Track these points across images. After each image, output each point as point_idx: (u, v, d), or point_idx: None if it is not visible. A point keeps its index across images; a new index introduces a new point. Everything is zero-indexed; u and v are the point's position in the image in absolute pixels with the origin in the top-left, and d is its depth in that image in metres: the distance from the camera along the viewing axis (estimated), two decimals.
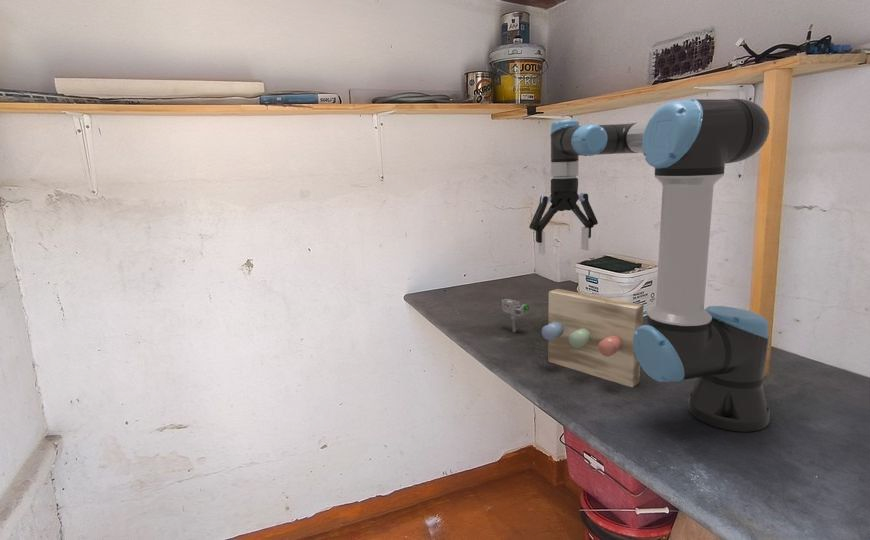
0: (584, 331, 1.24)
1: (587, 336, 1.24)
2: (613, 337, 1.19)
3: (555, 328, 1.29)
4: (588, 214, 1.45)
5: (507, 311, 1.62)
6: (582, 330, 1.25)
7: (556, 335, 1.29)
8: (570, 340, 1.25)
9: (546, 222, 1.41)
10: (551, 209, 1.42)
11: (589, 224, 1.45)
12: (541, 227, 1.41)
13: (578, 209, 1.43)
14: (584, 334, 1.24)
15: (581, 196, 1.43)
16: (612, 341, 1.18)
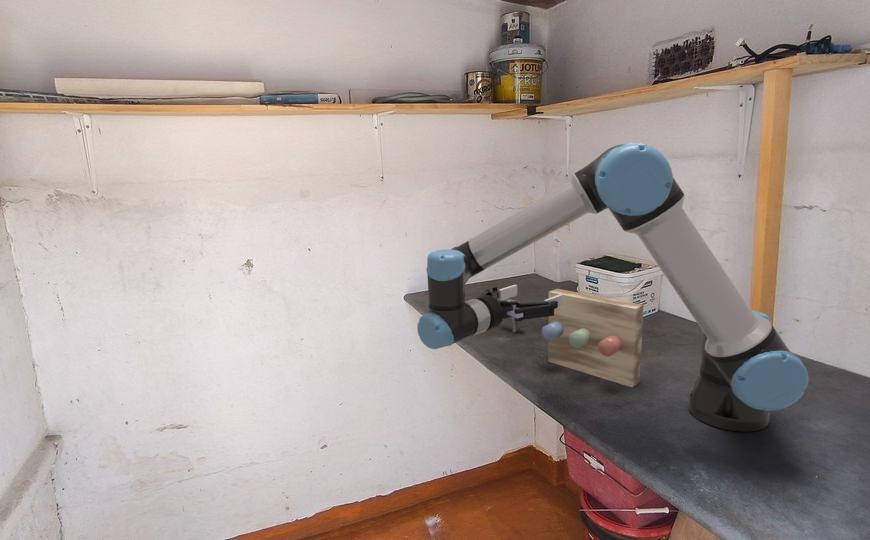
0: (584, 331, 1.24)
1: (587, 336, 1.24)
2: (613, 337, 1.19)
3: (555, 328, 1.29)
4: None
5: None
6: (582, 330, 1.25)
7: (556, 335, 1.29)
8: (570, 340, 1.25)
9: (534, 303, 1.14)
10: None
11: (494, 290, 1.24)
12: (544, 303, 1.13)
13: None
14: (584, 334, 1.24)
15: None
16: (612, 341, 1.18)
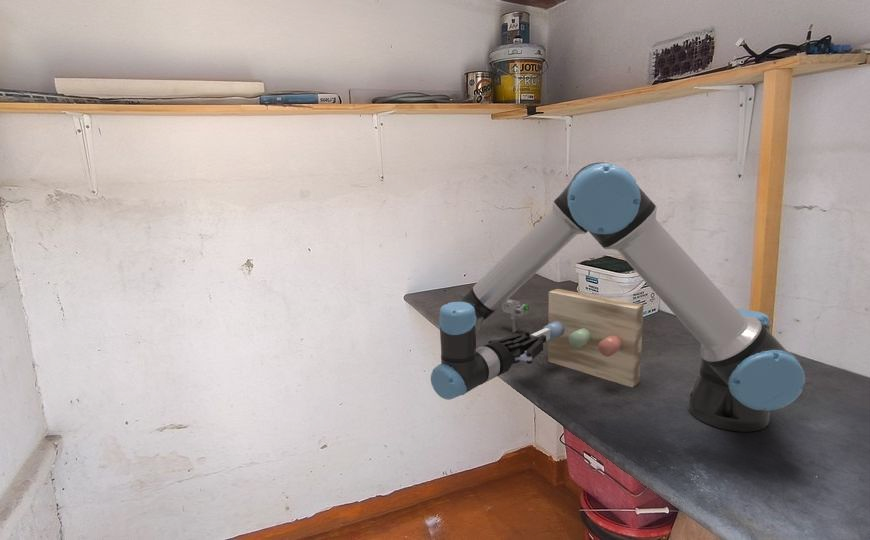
0: (584, 331, 1.24)
1: (587, 336, 1.24)
2: (613, 337, 1.19)
3: (556, 328, 1.29)
4: (511, 341, 1.25)
5: (507, 311, 1.62)
6: (582, 330, 1.25)
7: (557, 335, 1.29)
8: (570, 340, 1.25)
9: (529, 340, 1.22)
10: (522, 349, 1.19)
11: (526, 335, 1.25)
12: (535, 338, 1.23)
13: None
14: (584, 334, 1.24)
15: None
16: (612, 341, 1.18)
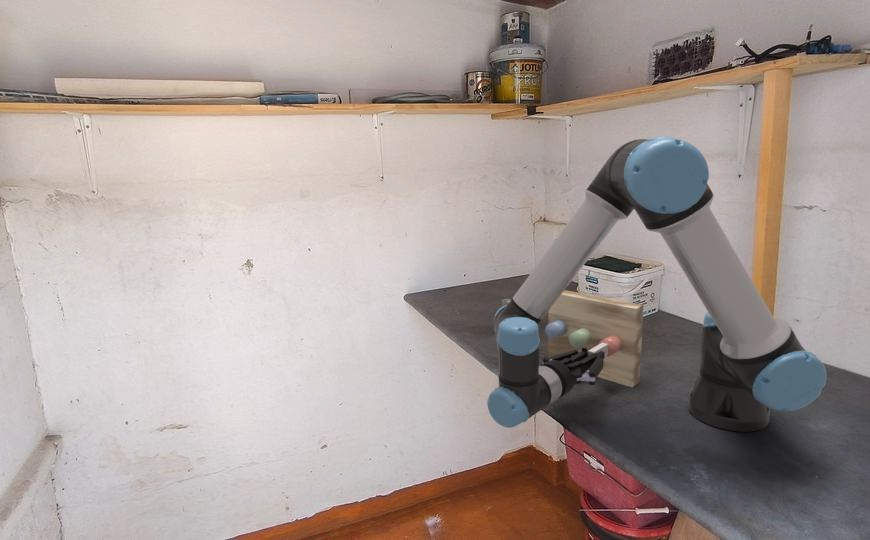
0: (584, 331, 1.24)
1: (587, 336, 1.24)
2: (613, 337, 1.19)
3: (559, 326, 1.30)
4: (567, 358, 1.13)
5: None
6: (582, 330, 1.25)
7: (560, 333, 1.30)
8: (570, 340, 1.25)
9: (588, 358, 1.11)
10: (581, 368, 1.08)
11: (583, 352, 1.14)
12: (594, 355, 1.12)
13: (568, 359, 1.10)
14: (584, 334, 1.24)
15: None
16: (612, 341, 1.18)
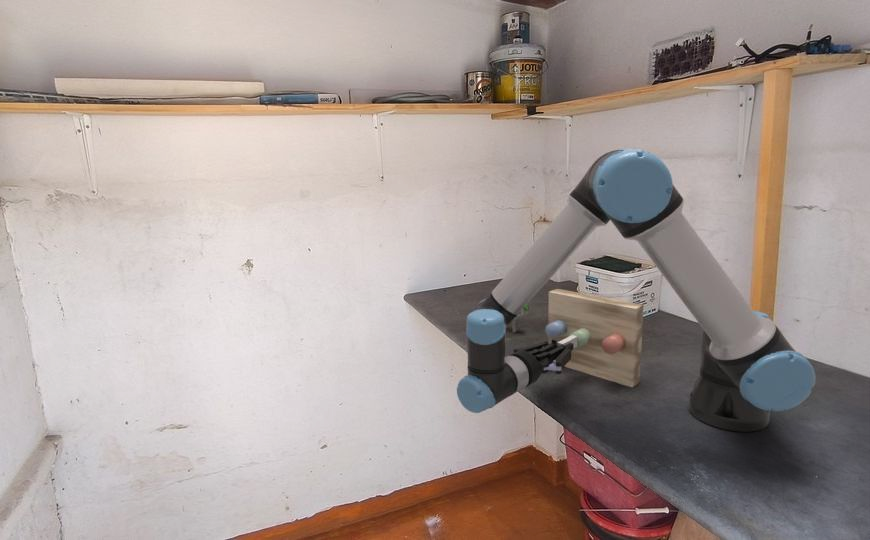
0: (584, 331, 1.25)
1: (587, 335, 1.24)
2: (616, 335, 1.21)
3: (559, 326, 1.30)
4: (537, 349, 1.19)
5: None
6: (582, 330, 1.25)
7: (560, 333, 1.30)
8: None
9: (556, 349, 1.16)
10: (549, 358, 1.13)
11: (552, 343, 1.20)
12: (562, 346, 1.17)
13: (538, 350, 1.16)
14: (584, 334, 1.24)
15: None
16: (616, 339, 1.19)
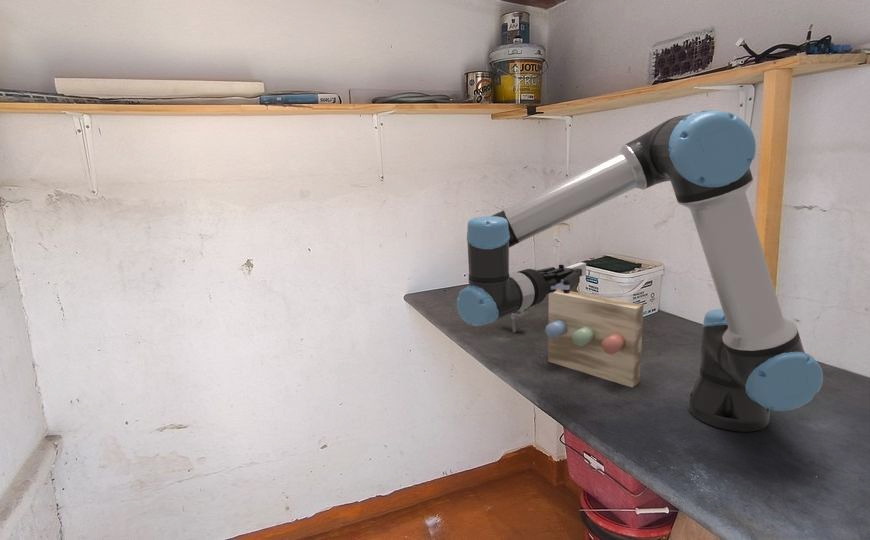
0: (587, 329, 1.26)
1: (590, 334, 1.25)
2: (616, 335, 1.21)
3: (559, 326, 1.30)
4: None
5: None
6: (585, 328, 1.26)
7: (560, 333, 1.30)
8: (574, 338, 1.26)
9: (564, 272, 1.09)
10: (556, 280, 1.06)
11: (560, 268, 1.12)
12: (570, 270, 1.10)
13: None
14: (587, 332, 1.25)
15: None
16: (616, 339, 1.19)
